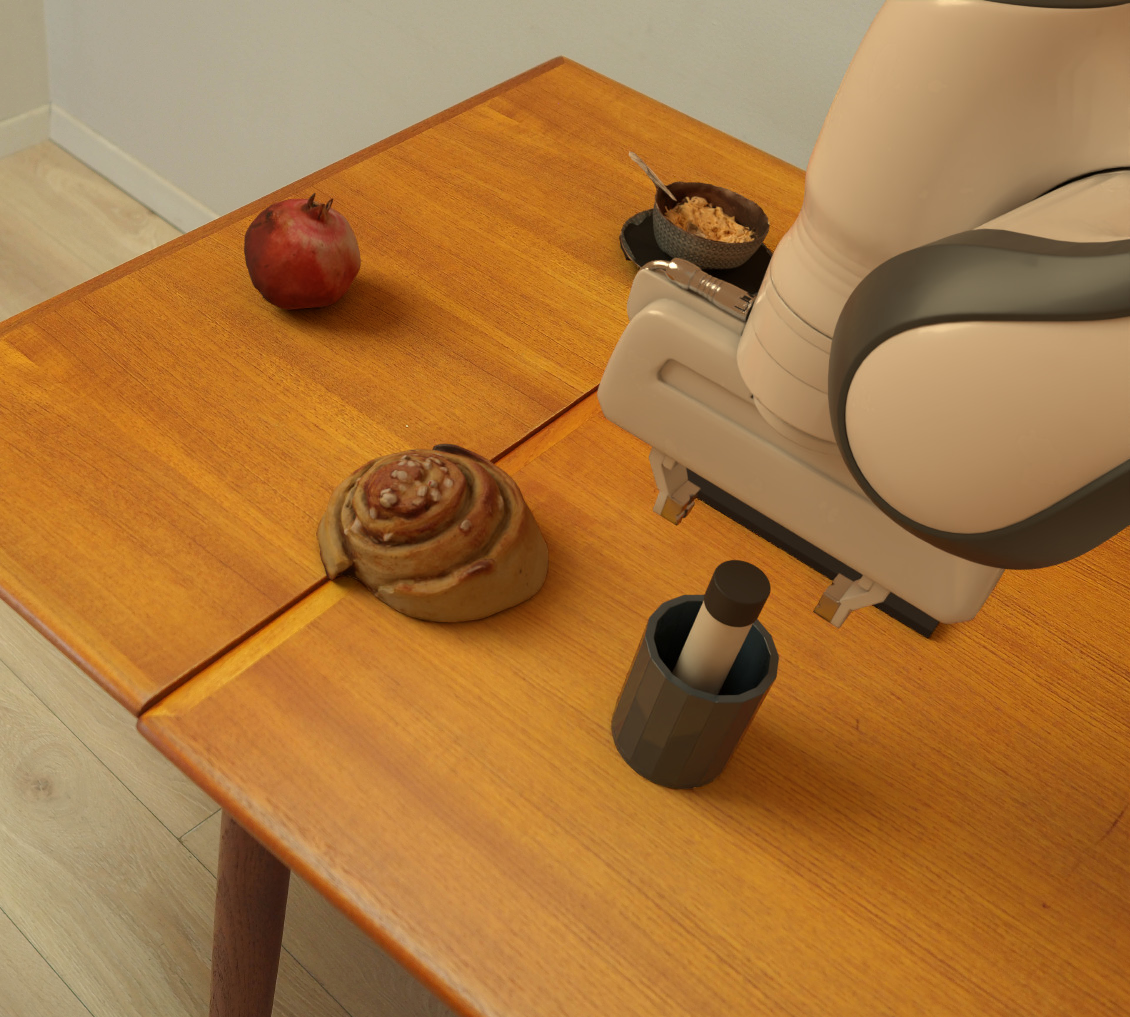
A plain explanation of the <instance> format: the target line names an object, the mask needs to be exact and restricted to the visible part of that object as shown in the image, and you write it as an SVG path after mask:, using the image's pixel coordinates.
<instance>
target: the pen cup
mask: <svg viewBox="0 0 1130 1017" xmlns="http://www.w3.org/2000/svg"><path fill="white" fill-rule="evenodd" d="M703 601H704V594H681V595H679V596H677V597H674V598H672V599H671V598H670V599H669V600H666V601H664V602H662V603H661V604H660V605H659V606H658V607H657V608H656V609H655V610H654V611H653V613H652V614H651V615H649V617H648V620H647V622H646V625H645V628H644V630H643V632H642V635H641V638H640V640H639V643H638V645H637V648H636V651H635V653H634V656H633V659H632V661H631V664H630V666H629V668H628V672H627V674H626V677H625V679H624V682H623V684H622V687H621V689H620V692H619V695H618V697H617V699H616V703H615V706H614V709H613V713H612V715H611V723H610V724H611V736H612V740H613V743H614V745H615V747H616V750H617V751H618V753H619V755H620V756H621V758H622V759H623V760H624V762H625V763H626V764H627V765H628V766H629V767H630V768H631V769H632V770H633V771H634V772H635V773H637V774H638V775H640V776H641V777H642V778H644V779H645V780H647V781H650V782H652V783H654V784H657V785H659V786H662V787H666V788H670V789H675V790H676V789H677V790H688V789H696V788H701V787H703V786H706V785H708V784H710V783H712V782H713V781H715V780H716V779H718V778H719V777H720V776H721V775H722V774H723V772H725V770H726V768H727V766H728V765H729V763H730V762H731V761H732V760H733V758H734V756H735V754H736V752H737V750H738V749H739V748H740V747H739V746H740V745H741V743H742V742H743V740H744V738H745V736H746V735H747V733H748V731H749V729H750V727H751V726H752V723H753V721H754V720H755V718H756V716H757V714H758V713H759V711H760V709H761V707H762V705H763V703H764V702H765V699H766V698H767V697H768V694H769V692H770V691H771V689H772V686H773V685H774V683H775V681H776V679H777V677H778V670H779V661H780V656H779V653H778V650H777V646H776V643H775V642H774V639H773V636H772V634H771V633H770V632H769V631H768V630H767V628H766V627H765V626H764V625H763V623H761V621H760V620H759V618H757V620H756V621H755V622H754V623H753V624H752V626H751V628H750V630H749V632H748V634H747V636H746V638H745V641H744V643H743V645H742V647H741V649H740V651H739V653H738V655H737V657H736V659H735V661H734V663H733V665H732V667H731V669H730V671H729V673H728V675H727V677H726V679H725V681H724V683H723V685H722V687H721V689H720V691H719V693H718V695H713V694H710V693H707V692H703V691H700V690H697V689H694V688H692V687H690V686H689V685H687V684H686V683H684V682H683V681H681V680H680V679H678V678H677V677H676V676H674V675H673V674H672V673H673V670H674V668H675V666H676V663H677V661H678V659H679V656H680V654H681V652H682V650H683V647H684V645H685V643H686V640H687V638H688V636H689V633H690V631H691V629H692V627H693V624H694V622H695V620H696V617H697V615H698V613H699V610H700V608H701V606H702V604H703Z"/></svg>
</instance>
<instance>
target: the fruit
mask: <svg viewBox="0 0 1130 1017" xmlns="http://www.w3.org/2000/svg"><path fill="white" fill-rule="evenodd" d="M316 195H317V194H316V192H313V193H312V194H311V195H310V197H309V198H287V199H285V200H281V201H278V202H274V203H273V204H270V205H269V206H267V207H265V208H264V209H263V210H262V211H260V213H259V214H257V216H256V217H255V218H254V219H253V220H252V222H251V223H250V225H249V226H248V227H247V230H246V231H245V234H244V243H243V247H244V248H243V254H244V259H245V260H244V261H245V267H246V268H247V272H248V275H249V278H250V281H251V283H252V285H253V287H254V288H255V290H256V291H258V293H259V294H260V295H261V297H262V299H264V300H265V301H266V302H267V303H269V304H271V305H274V306H275V307H276V308H279V309H283V310H298V309H308V308H316V309H319V308H325V307H329V306H332V305H333V304H335V303H337V302H339V301H340V300H341V299H342V298H344V296H345V295H346V294H347V293H348V291H349V290H350V288H351V286H352V285H353V283H354V280H355V279H356V277H357V275H358V273H359V272H360V270H361V267H362V266H361V265H362V264H361V263H362V259H361V251H360V248H359V243H358V240H357V237H356V235H355V232H354V230H353V228H352V226H351V224H350V222H349V220H347V218H346V216H344V215H343V214H342V213H341V212H340V211H338V210H336V209H335V208H333V207H332V205H333V203H334V198H333V197H332V198H330V199H329V200H328V201H327V202H326V204H325V203H322V202H318V201H316V200H315V198H316Z"/></svg>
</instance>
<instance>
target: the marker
mask: <svg viewBox="0 0 1130 1017" xmlns="http://www.w3.org/2000/svg"><path fill="white" fill-rule="evenodd" d="M771 591H772V587H771V583H770V580H769V578H768V576H767V575H766V574H765V573H764V571H763V569H761V568H759V567H758V566H756V565H755V564H753V563H751V562H748V561H745V560H739V559H730V560H726V561H723V562H721V563H720V564H719V565H717V567H716V568H715V569H714V571H713V573H712V576H711V578H710V579H709V583H708V585H707V587H706V590H705V592H704V594H703V595H704V601H703V604H702V606H701V608H700V610H699V613H698V615H697V617H696V620H695V622H694V624H693V627H692V629H691V631H690V633H689V636H688V638H687V640H686V643H685V645H684V647H683V650H682V652H681V654H680V656H679V659H678V661H677V663H676V666H675V668H674V670H673V673H672V674H673V675H674V676H676V677H677V678H678V679H680V680H681V681H683V682H684V683H686V684H687V685H689V686H690V687H692V688H694V689H697V690H700V691H703V692H707V693H710V694H713V695H718V693H719V691H720V689H721V687H722V685H723V683H724V681H725V679H726V677H727V675H728V673H729V671H730V669H731V667H732V665H733V663H734V661H735V659H736V657H737V655H738V653H739V651H740V649H741V647H742V645H743V643H744V641H745V638H746V636H747V634H748V632H749V630H750V628H751V626H752V624H753V623H754V622H755V621H756V620H757V619H759V616H760V614H761V613H762V611H763V609H764V607H765V605H766V603H767V600H768V599H769V596H770V594H771Z"/></svg>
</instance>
